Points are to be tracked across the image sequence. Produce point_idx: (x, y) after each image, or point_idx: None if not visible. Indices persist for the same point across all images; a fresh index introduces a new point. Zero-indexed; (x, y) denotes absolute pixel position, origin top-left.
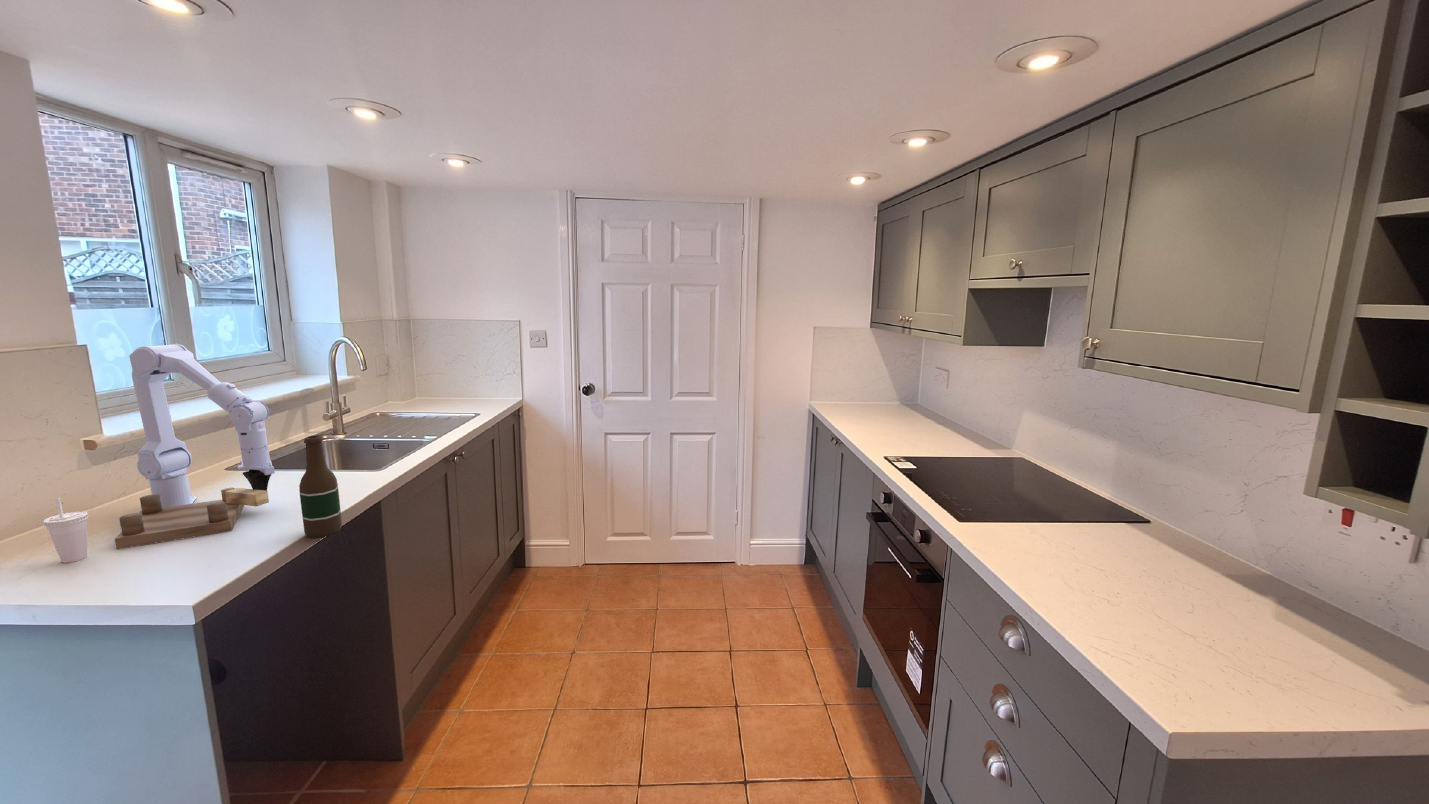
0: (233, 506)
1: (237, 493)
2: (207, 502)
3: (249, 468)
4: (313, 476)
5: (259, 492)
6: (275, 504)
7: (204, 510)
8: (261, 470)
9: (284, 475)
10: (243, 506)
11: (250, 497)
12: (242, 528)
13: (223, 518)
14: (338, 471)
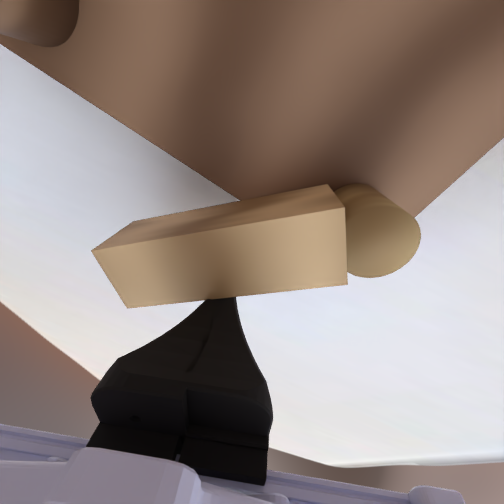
0: (238, 174)
1: (224, 226)
2: (471, 141)
3: (30, 477)
4: None
5: (126, 281)
6: None
7: (323, 33)
8: (52, 453)
9: (499, 436)
10: None
11: (137, 234)
12: (29, 86)
13: None
14: (363, 464)
